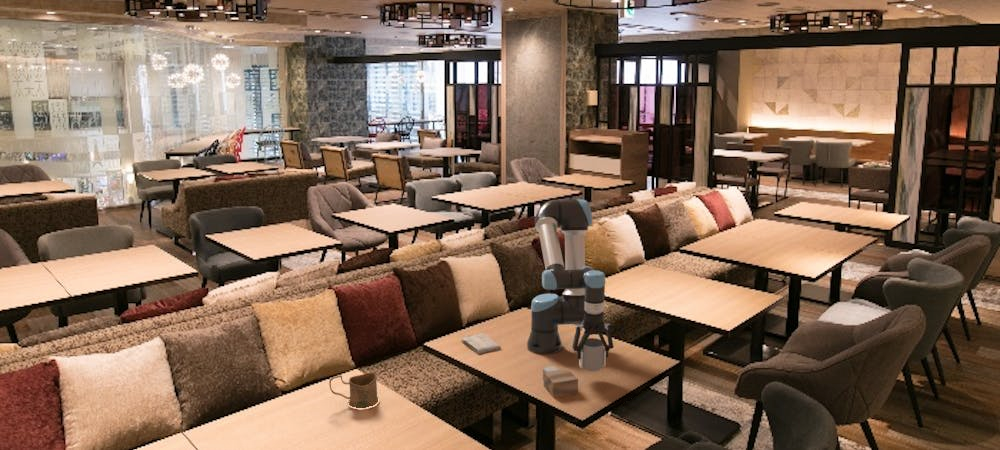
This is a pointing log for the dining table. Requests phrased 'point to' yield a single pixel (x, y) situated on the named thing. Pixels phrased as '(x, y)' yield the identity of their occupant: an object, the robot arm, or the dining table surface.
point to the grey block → (549, 370)
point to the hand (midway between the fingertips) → (592, 365)
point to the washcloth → (480, 343)
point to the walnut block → (560, 383)
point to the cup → (593, 354)
